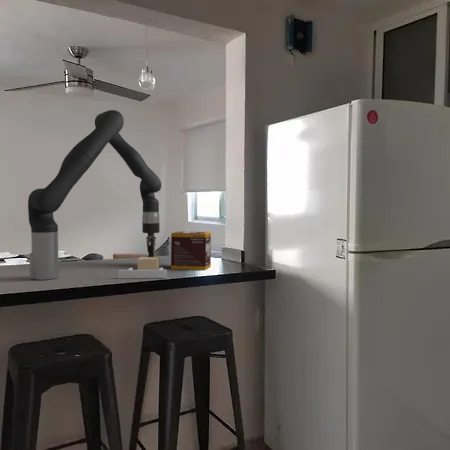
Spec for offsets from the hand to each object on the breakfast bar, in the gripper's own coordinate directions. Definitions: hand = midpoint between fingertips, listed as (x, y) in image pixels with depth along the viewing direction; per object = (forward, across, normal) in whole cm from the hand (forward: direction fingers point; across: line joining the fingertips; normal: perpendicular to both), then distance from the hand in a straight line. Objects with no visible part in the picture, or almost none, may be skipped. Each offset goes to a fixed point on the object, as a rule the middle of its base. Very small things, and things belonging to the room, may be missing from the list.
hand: (151, 260), depth 199 cm
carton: (+2, +10, 0) cm, 10 cm away
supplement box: (+3, +6, +18) cm, 19 cm away
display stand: (+2, +25, 0) cm, 25 cm away
